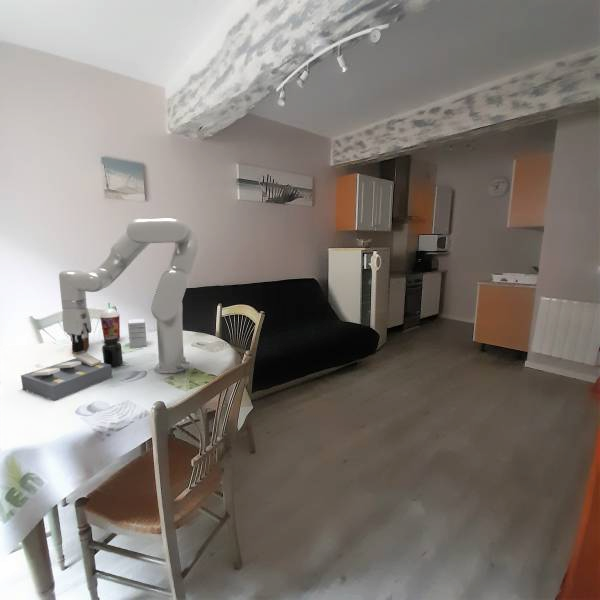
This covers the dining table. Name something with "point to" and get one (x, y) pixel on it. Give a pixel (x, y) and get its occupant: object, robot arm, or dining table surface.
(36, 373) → the rocker
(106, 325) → the smoothie
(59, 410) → the dining table surface
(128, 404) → the dining table surface
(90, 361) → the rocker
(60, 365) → the rocker
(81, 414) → the dining table surface
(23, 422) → the dining table surface
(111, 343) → the supplement bottle
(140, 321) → the supplement box
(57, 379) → the console
